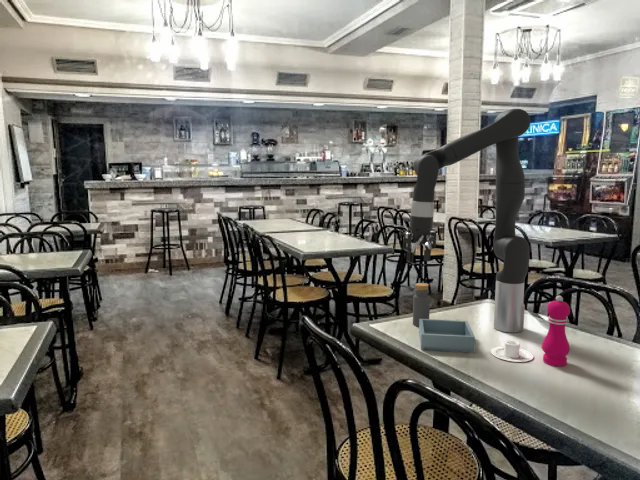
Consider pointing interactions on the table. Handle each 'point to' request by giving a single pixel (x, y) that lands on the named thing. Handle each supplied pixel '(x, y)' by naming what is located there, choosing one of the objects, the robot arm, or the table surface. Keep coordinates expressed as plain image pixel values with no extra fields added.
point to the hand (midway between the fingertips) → (418, 261)
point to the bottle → (421, 303)
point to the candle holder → (512, 351)
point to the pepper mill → (556, 334)
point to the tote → (446, 335)
